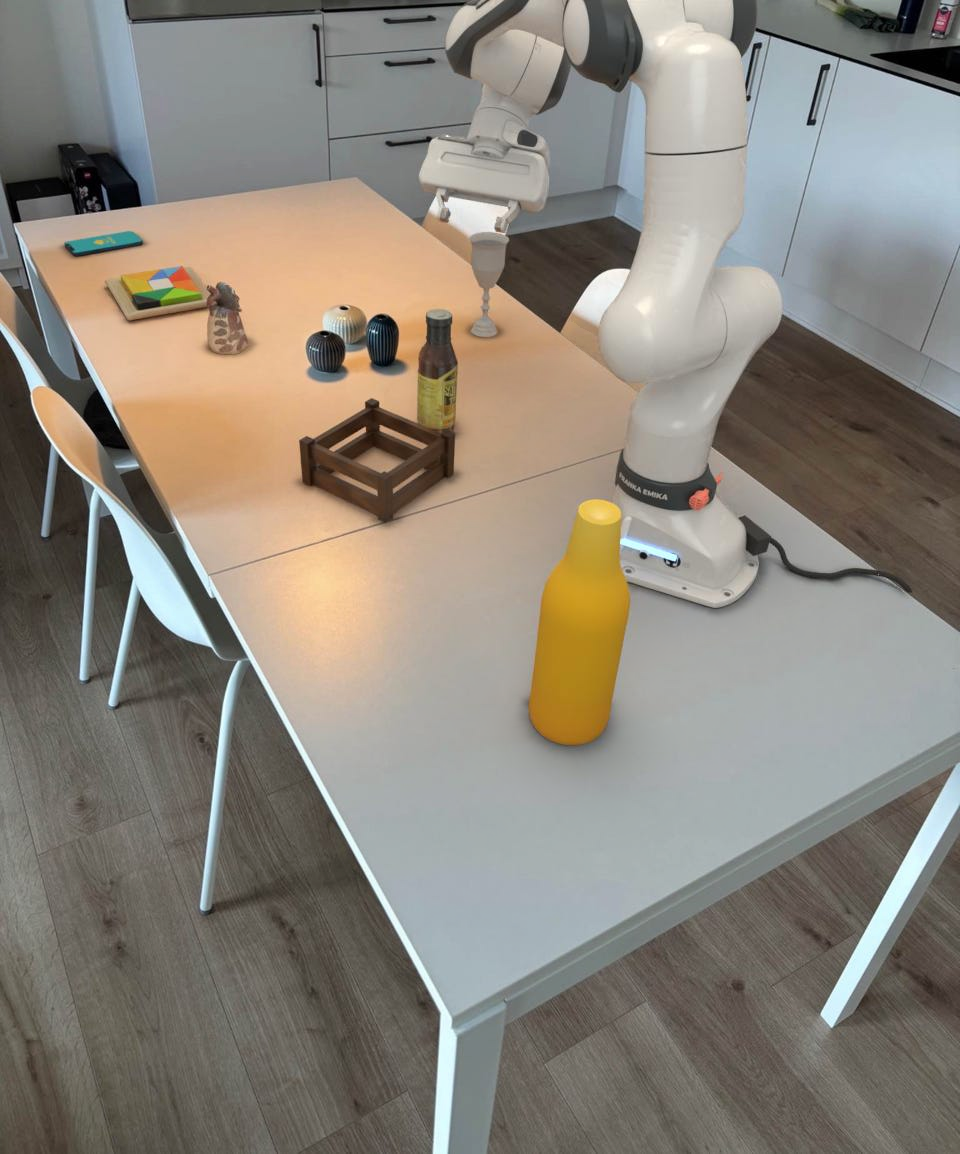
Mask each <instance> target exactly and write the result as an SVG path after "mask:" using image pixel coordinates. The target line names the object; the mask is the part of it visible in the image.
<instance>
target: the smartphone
mask: <svg viewBox="0 0 960 1154" xmlns="http://www.w3.org/2000/svg"><path fill="white" fill-rule="evenodd" d="M143 244H144V242H143V239H141V237H139V236H138V235H137V234H136V233H135V232H134V231H132V230H126V231H120V232H115V233H110V234H104V235H97V236H91V237H85V238H80V239H79V238H78V239H74V240H73V239H72V240H68V241H65V242H64V247H66V249H67V250H68V251H69V252H70V254H71V255H73V256H77V257H78V256H84V255H90V254H96V253H101V252H106V251H113V250H119V249H123V248H124V249H125V248H129V247H135V246H141V245H143Z"/></svg>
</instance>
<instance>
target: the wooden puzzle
mask: <svg viewBox="0 0 960 1154" xmlns="http://www.w3.org/2000/svg"><path fill="white" fill-rule="evenodd" d="M104 284H105V285H106V286H107V288H108V290H109V291H110V293H111V294H112V296H113V298H114V300H115V301H116V304H117V305H118V306H119V308H120V310H121V311H122V313H123V315H124V317H125V318H126V319H127V321H134V320H139V319H146V318H151V317H157V316H162V315H163V316H164V315H168V314H175V313H181V312H185V311H191V310H197V309H203V308H207V298H208V297H209V295H210V294H211V293H210V292H209V291H208V290H206V285H205V284H204V282H203V281H202V280H201V278H200V277H199V275H198V274H197V273H196V271H195V270H194V268H193V267H192V266H187V267H184V266H183V265H181V266H180V265H179V266H173V267H166V268H159V269H152V270H147V271H141V272H133V273H127V274H121V275H120V277H116V278H115V277H114V278H109V279H105V280H104ZM216 303H217V302H216V301H214V302H212V303H211V307H213V306H214V305H215V304H216Z"/></svg>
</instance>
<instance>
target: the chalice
mask: <svg viewBox="0 0 960 1154" xmlns="http://www.w3.org/2000/svg"><path fill="white" fill-rule="evenodd" d="M469 241H470V244H471V253H470V254H471V255H470V265H471V269H472V272H473V276H474V278H475V280H476V282H477V285H478V287H479V288H481V289H483V294H482V296H481V299H482V305H481V306H480V309H481V310H482V314H481V316H480V317H478V318H477V319H476V320H475V321H474V324H473V326H472V328H471V329H470V332H471V334H473V335H475V336H477V337H481V338H491V337H493V336H495V335H497V334H498V329H497V327H496V324H495V322H494V320H493V319H492V318H491V317H490V316H489V314H488V313H489V310H490V309H491V306H490V305H489V302H490V300H491V297H490V290H491V289H493V288H495V286H496V284H497V283H498V281H499V279H500V277H501V275H502V273H503V271H504V268H505V265H506V264H505V263H506V251H507V250H506V248H507V245H508V243H509V242H510V239H509V236H507V235H505V234H504V233H500V232H493V231H482V232H481V231H480V232H476V233H473V234H471V235H470V236H469Z"/></svg>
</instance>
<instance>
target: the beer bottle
mask: <svg viewBox="0 0 960 1154" xmlns="http://www.w3.org/2000/svg"><path fill="white" fill-rule="evenodd" d="M576 511H577V512H576V515H575V518H574V522H573V526H572V529H571V534H570V537H569V540H568V544H567V547H566V551H565V554H564V556H563V557H562V558H561V559H560V560H559V561H558V563H557V564H556V565H555V567H554V568H553V569H552V571H551V572H550V574H549V576H548V577H547V580H546V582H545V584H544V587H543V589H542V595H541V599H540V608H539V618H538V626H537V633H536V634H537V636H536V644H535V652H534V661H533V669H532V678H531V686H530V693H529V697H528V698H529V700H528V714H529V719H530V722H531V723H532V725H533V727H534V728H535V730H536V731H537V732H538V733H539V734H540V735H541V736H542V737H544V738H546V739H547V740H549V741H551V742H553V743H556V744H558V745H564V746H580V745H584V744H585V745H586V744H587V743H590V742H592V741H594V740H596V739H597V738H598V737H600V735H602V733H603V732H604V731H605V729H606V728H607V725H608V722H609V720H610V717H611V711H612V701H613V697H614V693H615V687H616V682H617V676H618V672H619V666H620V661H621V656H622V652H623V651H622V650H623V647H624V640H625V635H626V630H627V625H628V620H629V616H630V609H631V595H630V588H629V584H628V581H627V580H626V578H625V575H624V573H623V570H622V568H621V565H620V538H621V511H620V509H619V508H618V507H617V506H616V505H615V504H613V503H612V501H608V500H605V499H599V498H598V499H596V498H595V499H588V500H586V501H582V503H581V504H579V506H578V508H577V510H576Z"/></svg>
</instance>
